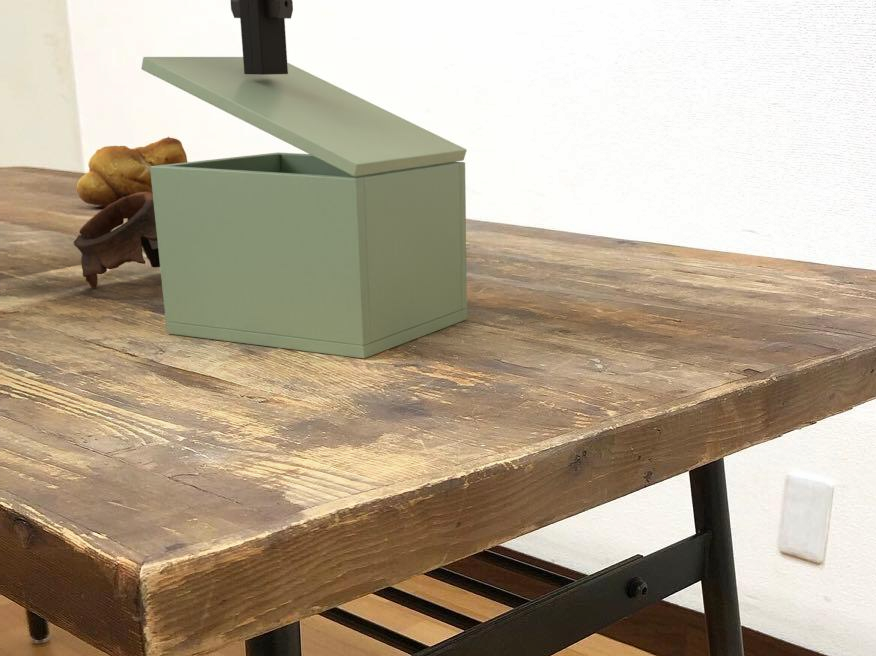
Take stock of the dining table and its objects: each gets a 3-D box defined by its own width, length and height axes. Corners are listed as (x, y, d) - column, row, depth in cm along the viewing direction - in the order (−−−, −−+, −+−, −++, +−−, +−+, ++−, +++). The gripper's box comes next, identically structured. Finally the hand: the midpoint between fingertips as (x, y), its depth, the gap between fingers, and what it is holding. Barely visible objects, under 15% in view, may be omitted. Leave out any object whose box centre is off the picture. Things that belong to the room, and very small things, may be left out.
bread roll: (83, 211, 143) (74, 139, 140) (72, 202, 151) (63, 134, 148) (196, 207, 148) (189, 137, 145) (179, 198, 156) (172, 132, 153)
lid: (140, 69, 77) (142, 56, 76) (273, 67, 88) (275, 56, 88) (354, 177, 73) (357, 164, 72) (463, 160, 84) (467, 149, 84)
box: (166, 333, 83) (149, 166, 79) (287, 299, 94) (277, 152, 90) (364, 358, 77) (356, 178, 73) (467, 319, 88) (465, 162, 84)
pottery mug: (224, 300, 96) (162, 210, 91) (119, 354, 97) (52, 267, 92) (225, 238, 106) (170, 154, 100) (130, 288, 107) (70, 207, 101)
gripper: (366, -353, 73) (381, 75, 81) (190, -329, 78) (222, 72, 86) (291, -392, 66) (316, 76, 75) (105, -363, 71) (149, 73, 80)
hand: (266, 73), depth 81 cm, fingers closed
